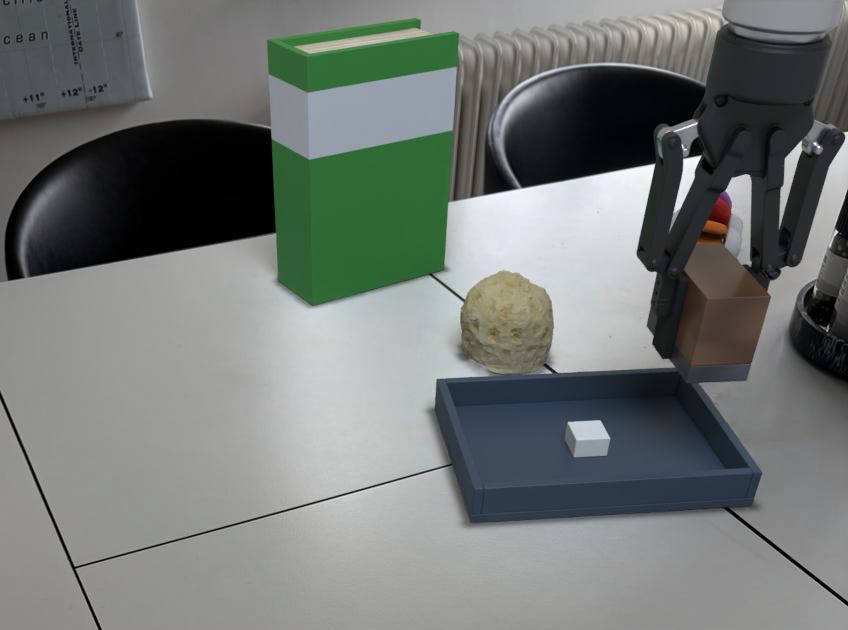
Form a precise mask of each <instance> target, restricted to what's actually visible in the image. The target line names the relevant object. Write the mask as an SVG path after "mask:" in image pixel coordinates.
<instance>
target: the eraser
mask: <svg viewBox="0 0 848 630" xmlns="http://www.w3.org/2000/svg"><path fill="white" fill-rule="evenodd" d="M683 274H684V275H685V276H686V277H687V278H688V280H689V286H688V290H687V294H686V299H685V303H684V307H683V311H682V316H681V320H680V324H679V328H678V333H677V337H676V341H675V346H674V350H673V354H672V358H671V359H669V361H670V363H672V365H673V366H674V367H675V368H676V369H677V371H678V372H679V374H680V375H681V377H682V378H683V380H684V381H685V382H686V383H699V384H707V383H708V384H709V383H727V382H729V383H731V382H747V381H748V377H749V374H750V371H751V367H752V364H753V361H754V357H755V354H756V350H757V347H758V344H759V340H760V337H761V333H762V330H763V327H764V323H765V320H766V317H767V313H768V310H769V306H770V304H771V303H770V302H771V299H772V295H771V294H770V293H769V292H768V290H767V291H766V290H765V289H764V288H763V287H762V286H761V285H760V284H759V282H758V281H757V280H756V279H755V278H754V277H753V276H752V275H751V274H750V273H749V272H748V271H747V270H746V268H745V267H744V266H743V265H742V263H741V262H740V260H739V259H738V258H737V257H736V258H735V257H734V256H733V254H732V253H731V252H730V251H729V250H728V249H727V248H726V247H725V246H724V245H723V244H722V243H719V244H696V245H695V247H694V250H693V252H692V254H691V256H690V258H689V260H688V262H687V264H686V266H685V268H684V270H683ZM657 318H658V317H657V316H656V314H655V313H654V311H653V310H652V308H651V306H650V307H649V312H648V317H647V321H646V328H647V329H648V330H649V332H650V333H651V335H652V337H653V336H654V332H655V327H656V322H657Z"/></svg>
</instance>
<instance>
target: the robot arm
mask: <svg viewBox="0 0 848 630" xmlns="http://www.w3.org/2000/svg"><path fill="white" fill-rule="evenodd" d="M845 2H846V0H723V4H722V8H721V16H722V17H723V19H724V21H726V22H727V23H725V24H724V25H722V26H721V27H720V29H717V31H716V34H715V35H716V36H715V41H714V44H713V49H712V53H711V57H710V58H711V59H710V62H709V67H708V71H707V77H706V81H705V89H704V90H705V91H704V96H703V98H702V101H700V104H699V106H698V107H697V108H696V110H695V111H694V113H693V116H692V119H689V120H686V121H683V122H681V123H678V124H675V125H673V126H669V125H668V124H667V123H660V124H658V125H657V126H656V127H655V128H654V131H653V143H654V151H655V162H654V167H653V173H652V178H651V181H650V186H649V191H648V195H647V201H646V205H645V210H644V214H643V220H642V223H641V224H642V225H641V229H640V234H639V238H638V243H637V247H636V252H635V253H636V257H637V259H638V260H639V261H640V262H641V264H642V265H643V267H644V268H645V269H646V270H647V271H648V272H649V273H656V276H655V281H654V285H653V289H652V294H651V297H650V298H651V299H650V307H651V308H652V310H653V311H654V313H655V314H656V316H657V317H658V318H657V322H656V327H655V332H654V336H653V335H652V341H651V345H652V347H653V348H654V349H655V351H656V353H657V354H658V355H659V357H660V359H662V360H670V359H671V358H672V354H673V350H674V346H675V341H676V337H677V333H678V328H679V324H680V320H681V316H682V311H683V307H684V303H685V299H686V294H687V290H688V286H689V280H688V278H687V277H686V276H685V275H684V274H683V270H684V268H685V266H686V264H687V262H688V260H689V258H690V256H691V254H692V252H693V250H694V247H695V245H696V243H697V241H698V239H699V237H700V235H701V233H702V231H703V229H704V227H705V225H706V223H707V221H708V219H709V216H710V214H711V212H712V210H713V208H714V206H715V204H716V202H717V200H718V198H719V196H720V194H721V193H723V192H724V191H727V189H728V187H729V185H730V184H731V181H732V180H733V178H739V177H741V176H743V175H745V176H746V175H747V176H749V177H750V181H751V185H750V186H751V187H750V188H751V191H750V192H751V193H750V235H749V236H750V238H749V240H750V241H749V260H750V263H751V264H750V265H749V264H747V263H745V264H742V263H741V264H742V265H743V266H744V267H745V268H746V270H747V271H748V272H749V273H750V274H751V275H752V276H753V277H754V278H755V279H756V280H757V281H758V282H759V284H760V285H761V286H762V287H763V288H764V289H765V290H766V291H767V292H768V291H769V290H768V289H769V287H770V282H771V281H772V282H773V281H776V280H777V279H779V278H780V276H781V274H782V269H783V268H787V267H789V268H791V269H792V268H796V267H798V266H799V265H800V264H801V263H802V260H803V257H804V253H805V250H806V247H807V244H808V240H809V237H810V233H811V230H812V227H813V223H814V219H815V217H816V213H817V209H818V206H819V203H820V199H821V196H822V192H823V189H824V186H825V182H826V179H827V176H828V172H829V169H830V166H831V164H832V163H833V161H834V159H835V158H836V157H837V155H838V153H839V152H840V150H841V148H842V147H843V145H844V143H845V141H846V134H845V132H843V131H842V130H840V129H839V127H836V126H835V125H833V123H831V122H829V121H828V120H823V121H822V120H821V121H819V120H816V119H815V112H814V101H815V98H816V96H817V94H818V93H819V91H820V89H821V85H822V81H823V78H824V75H825V72H826V69H827V68H826V67H827V64H828V61H829V57H830V54H831V51H832V47H833V41H832V40H831V36H830V35H829V34H828V33H827V32H830V31H832V30H833V29H835V28H836V27H838V26H839V24H840V19H841V16H842V13H843V9H844V6H845ZM695 140H697V141H698V142H697V143H698V144H699V146H700V149H701V151H702V154H701V156H700V158H699V160H698V163H697V164H696V167H695V169H694V178H693V180H692V183H691V186H690V187H689V190H688V191H687V194H686V196H685V199H683V202H682V204H681V207H680V208H679V210H680V211H679V213H678V215H677V217H676V219H675V221H674V224H673V226H672V228H671V230H670V226H671V221H672V217H673V214H674V213H675V208H676V203H677V200H678V196H679V191H680V187H681V181H682V179H683V178H682V177H683V173H684V158H688V157H689V156H690V151H691V146H692V144H693V143H694V141H695ZM800 143H801V147H800V148H801V149H802V150H801V152H800V154H799V157H798V160H797V163H796V167H795V171H794V174H793V177H792V182H791V185H790V188H789V192H788V195H787V199H786V203H785V206H784V210H783V214H782V218H780V216H781V191H782V188H783V187H784V183H785V166H786V165H785V163H786V158H787V157H788V156H789V155H790V153H792V152H793V151H794V150H795V148H796V147H797V146H798V145H799V144H800ZM780 219H781V222H780ZM669 230H670V232H669Z"/></svg>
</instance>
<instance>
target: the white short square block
mask: <svg viewBox="0 0 848 630" xmlns="http://www.w3.org/2000/svg"><path fill="white" fill-rule="evenodd" d="M565 441H566V443H567V445H568V447H569V449H570V451H571V453H572V455H573V457H574V458H576V457H594V456H607V453H608V448H609V443H610V437H609V435H608V433H607V431H606V429H605V427H604V426H603V424H602V422H601V420H595V421H575V422H567V428H566V434H565Z"/></svg>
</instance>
